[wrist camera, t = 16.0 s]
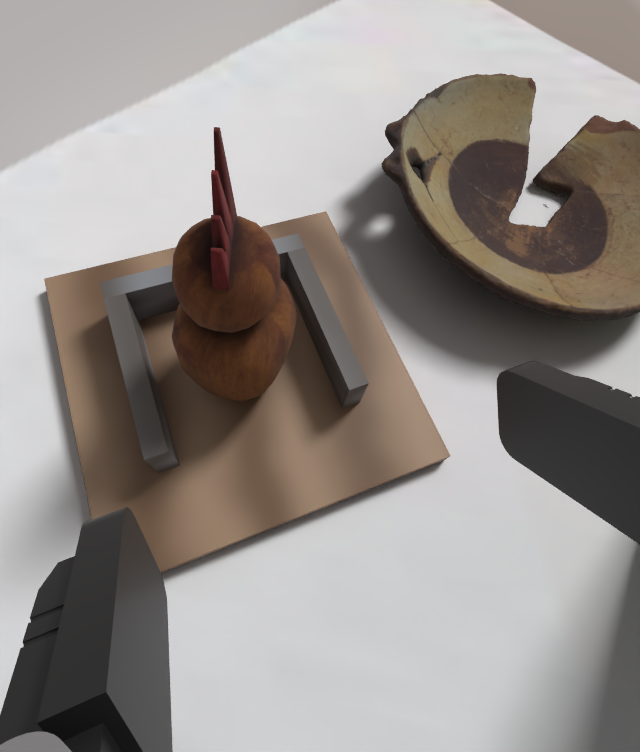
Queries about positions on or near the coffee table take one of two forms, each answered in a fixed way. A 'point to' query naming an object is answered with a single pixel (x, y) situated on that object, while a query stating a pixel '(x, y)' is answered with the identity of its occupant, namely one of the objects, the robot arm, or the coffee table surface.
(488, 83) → the oil lamp
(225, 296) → the wooden figurine
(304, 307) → the keeper cradle
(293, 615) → the coffee table surface
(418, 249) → the coffee table surface
